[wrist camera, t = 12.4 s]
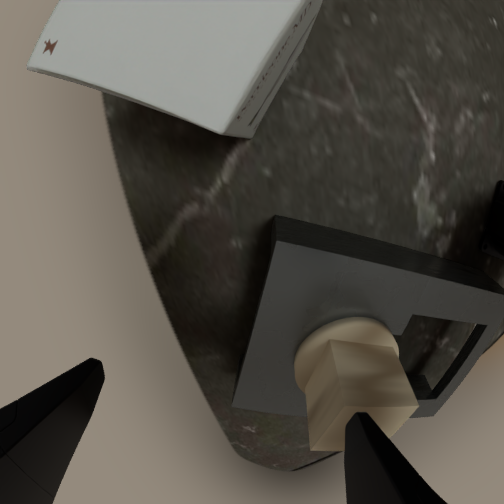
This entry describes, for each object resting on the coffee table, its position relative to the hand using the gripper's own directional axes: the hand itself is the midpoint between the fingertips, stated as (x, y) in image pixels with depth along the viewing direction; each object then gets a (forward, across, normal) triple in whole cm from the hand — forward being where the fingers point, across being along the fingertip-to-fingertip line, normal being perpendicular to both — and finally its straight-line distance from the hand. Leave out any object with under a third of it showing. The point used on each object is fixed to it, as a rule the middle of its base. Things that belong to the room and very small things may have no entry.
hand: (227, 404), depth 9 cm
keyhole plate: (+13, -11, +4) cm, 17 cm away
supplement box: (+13, +4, -12) cm, 18 cm away
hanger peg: (+12, -8, +4) cm, 15 cm away
